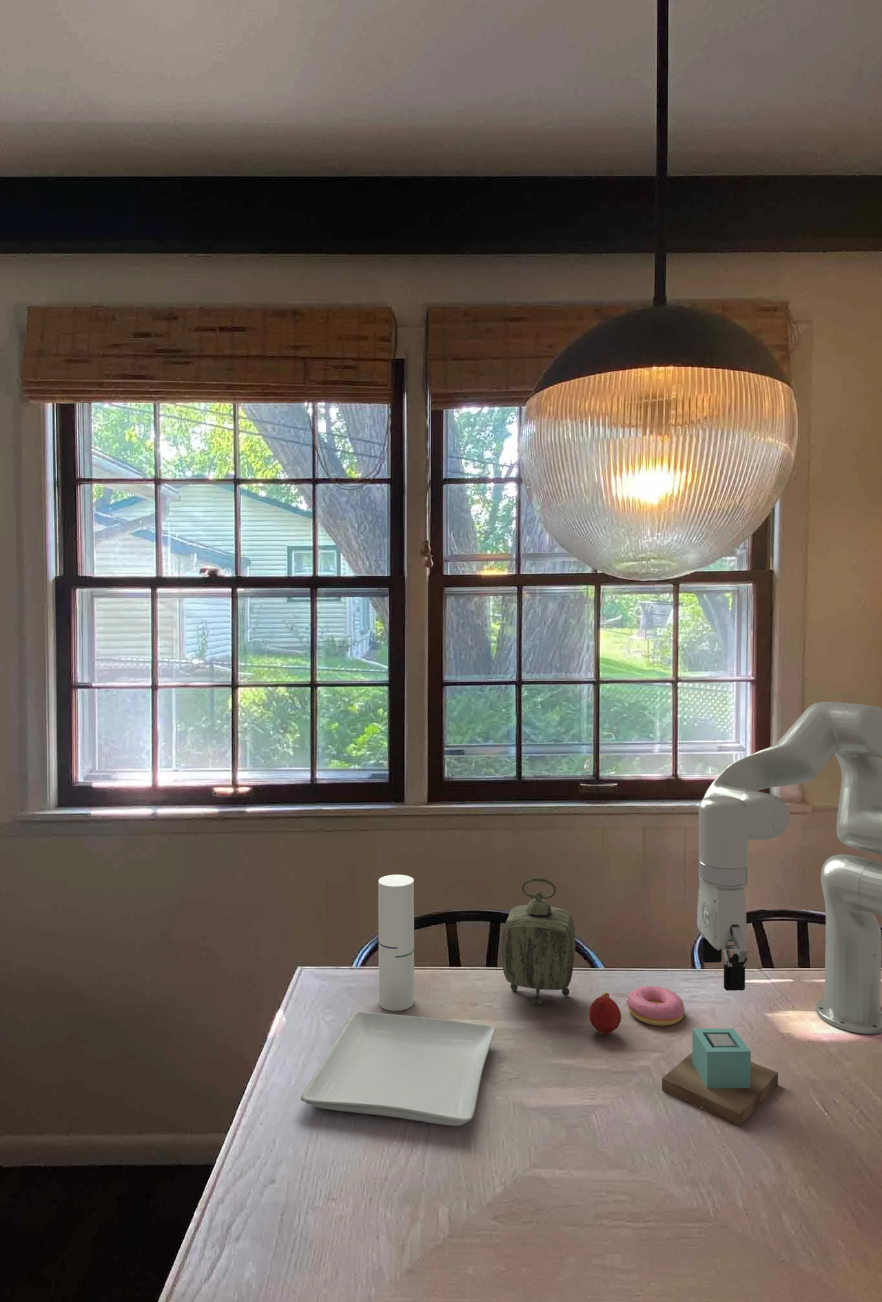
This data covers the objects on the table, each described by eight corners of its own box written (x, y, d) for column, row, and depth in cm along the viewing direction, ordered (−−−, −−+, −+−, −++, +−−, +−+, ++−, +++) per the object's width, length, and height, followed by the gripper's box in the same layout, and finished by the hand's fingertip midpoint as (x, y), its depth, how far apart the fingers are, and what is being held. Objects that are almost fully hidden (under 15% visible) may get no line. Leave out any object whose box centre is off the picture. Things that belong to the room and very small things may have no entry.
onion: (608, 1047, 138) (608, 1003, 137) (582, 1034, 142) (582, 992, 142) (626, 1035, 141) (627, 993, 141) (601, 1023, 146) (601, 982, 145)
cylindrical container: (383, 992, 158) (382, 873, 157) (416, 994, 157) (416, 875, 156) (375, 1009, 151) (374, 885, 150) (410, 1012, 150) (410, 887, 149)
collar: (692, 1063, 129) (692, 1028, 129) (733, 1063, 129) (733, 1028, 129) (706, 1088, 122) (707, 1051, 122) (750, 1088, 122) (750, 1051, 122)
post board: (703, 1053, 135) (703, 1009, 135) (777, 1084, 126) (778, 1037, 126) (661, 1090, 125) (662, 1042, 124) (740, 1126, 116) (740, 1075, 115)
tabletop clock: (575, 993, 158) (575, 874, 157) (572, 1014, 149) (573, 889, 148) (506, 985, 161) (506, 869, 160) (499, 1006, 152) (500, 883, 151)
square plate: (353, 1028, 145) (353, 1008, 145) (496, 1044, 139) (496, 1023, 139) (298, 1119, 118) (298, 1094, 118) (471, 1143, 113) (471, 1117, 112)
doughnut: (617, 1017, 148) (617, 996, 148) (642, 996, 157) (642, 976, 157) (670, 1036, 141) (670, 1014, 141) (693, 1013, 150) (693, 992, 150)
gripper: (682, 856, 133) (682, 952, 134) (719, 892, 116) (719, 1002, 116) (725, 856, 133) (725, 952, 134) (768, 891, 116) (768, 1001, 116)
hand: (722, 975), depth 125 cm, fingers open, 9 cm apart
